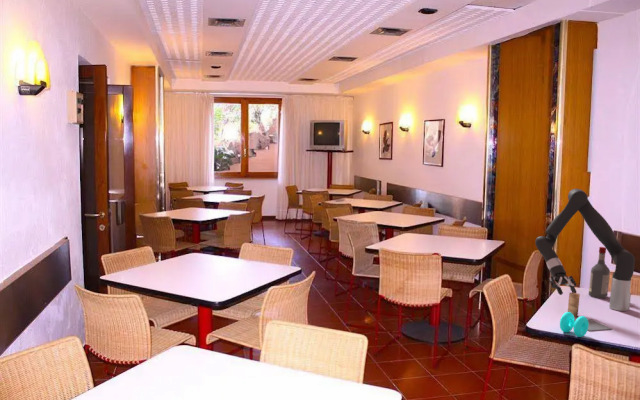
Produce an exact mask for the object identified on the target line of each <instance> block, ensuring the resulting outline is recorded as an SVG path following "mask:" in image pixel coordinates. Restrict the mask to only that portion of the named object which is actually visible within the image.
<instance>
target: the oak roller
mask: <svg viewBox="0 0 640 400" xmlns="http://www.w3.org/2000/svg"><path fill="white" fill-rule="evenodd" d="M568 295H569V296H568V302H567V303H568V304H567V306H568V307H567V312H571V313H572V314H573V315H574V318H578V317H579V306H580V295H581V294H580V293H577V292H576V293H572V292H569V294H568Z"/></svg>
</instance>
